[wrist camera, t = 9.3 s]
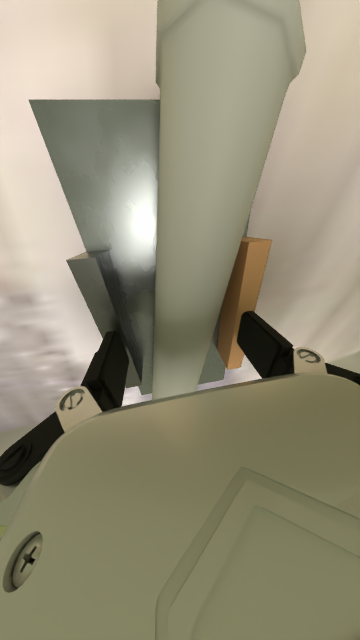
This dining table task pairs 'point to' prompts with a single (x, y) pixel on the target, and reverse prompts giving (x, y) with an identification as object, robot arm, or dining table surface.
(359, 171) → the dining table surface
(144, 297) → the galvanized metal plate
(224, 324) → the bar
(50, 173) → the dining table surface
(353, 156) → the dining table surface
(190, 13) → the tube
